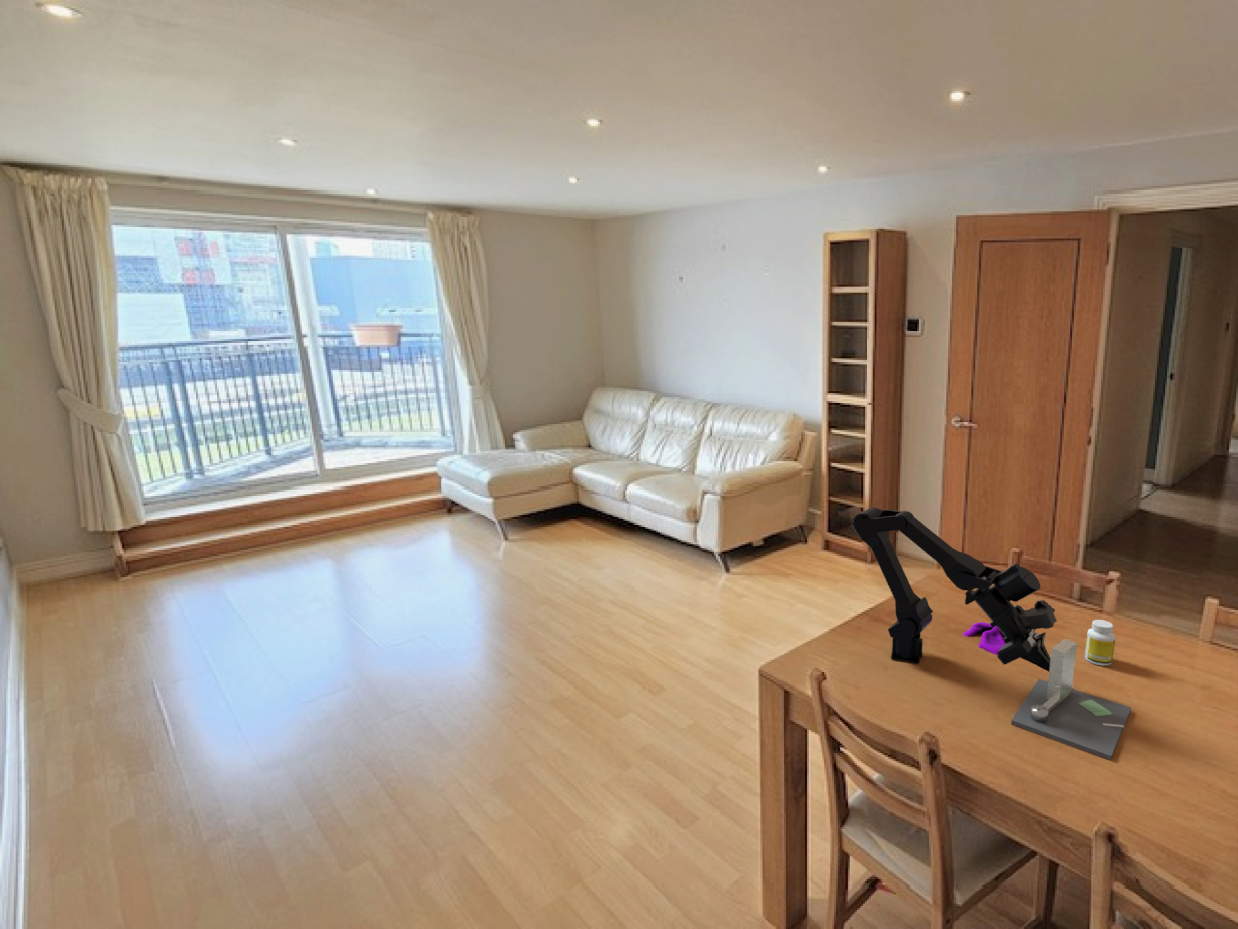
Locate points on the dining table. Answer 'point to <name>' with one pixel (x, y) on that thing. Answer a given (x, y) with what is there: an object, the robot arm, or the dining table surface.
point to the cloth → (988, 636)
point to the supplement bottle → (1100, 643)
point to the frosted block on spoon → (1057, 678)
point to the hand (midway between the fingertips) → (1053, 671)
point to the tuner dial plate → (1076, 720)
